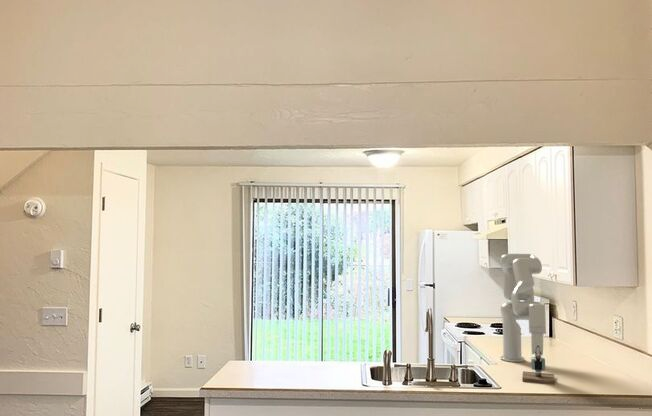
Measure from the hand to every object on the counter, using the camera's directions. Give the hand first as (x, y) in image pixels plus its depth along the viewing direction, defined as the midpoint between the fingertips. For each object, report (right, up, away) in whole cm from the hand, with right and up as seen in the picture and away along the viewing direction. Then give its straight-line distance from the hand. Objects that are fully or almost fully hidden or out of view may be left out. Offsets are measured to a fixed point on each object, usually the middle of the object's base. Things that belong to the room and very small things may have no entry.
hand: (538, 367), depth 242 cm
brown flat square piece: (0, -5, 0) cm, 5 cm away
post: (0, -4, 0) cm, 4 cm away
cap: (0, -1, 0) cm, 1 cm away
